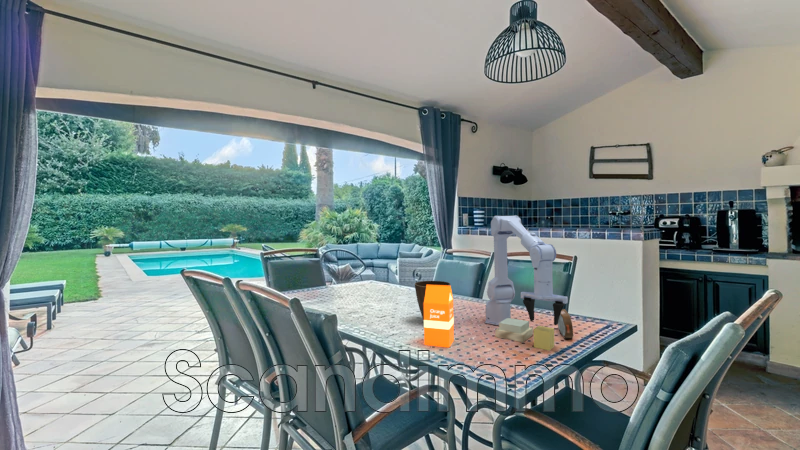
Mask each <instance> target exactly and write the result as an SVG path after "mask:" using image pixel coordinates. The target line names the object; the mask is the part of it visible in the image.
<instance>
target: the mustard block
mask: <svg viewBox="0 0 800 450" xmlns="http://www.w3.org/2000/svg"><path fill="white" fill-rule="evenodd" d="M554 347H555V328H554V327H547V326H543V325H542V326H541V325H537V326H536V327H534V328H533V348H536V349H540V350H545V351H551V350H552V349H553V348H554Z"/></svg>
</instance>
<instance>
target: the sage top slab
mask: <svg viewBox="0 0 800 450" xmlns="http://www.w3.org/2000/svg"><path fill="white" fill-rule="evenodd" d="M529 327H530V320H522V319H517V318H507V319H505V320H503V321H501V322H499V325H498V328H499V330H504V331H509V332H514V333H520V334H522V333H523V332H524V331H526V330H527V329H529Z"/></svg>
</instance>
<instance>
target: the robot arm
mask: <svg viewBox="0 0 800 450" xmlns="http://www.w3.org/2000/svg"><path fill="white" fill-rule="evenodd" d="M523 225H524V224H522V219H521V218H520V217H519V215H516V214H515V215H494V216H493V217H492V220H491V221H490V233H491V237H493V255H494V257H493V258H494V259H493V261H494V263H493V265H494V266H493V267H494V277H493V278H492V279H490V281H488V283H487V291H486V293H487V294H486V295H487V298H488V300H487V301H486V303H485V321H484V323H485V324H489V325H494V326H499V322H501V321H503V320H505V319H507V318H511V317H512V316H511V312H512V311H511V310H512V309H511V303H512V302H513V300H514V299H515V296H516V290H515V285H514V281H512V280H511V279H510V278H509V276H508V275H509V271H508V266H509V265H508V238H509V237H511V236H512V235H516V237H518V238H519V239H520V244H521V245H522V247H523V248H524V249H525V250H527V252H528V253H529V258H530V260H531V265H532V267H533V292H532V291H521V292H520V299H523V300H522V303H523V305H524V307H525V309H526V311H527V313H528V317H529V322H533V321H534V320H535V302H536V300H538V301H546V302H553V303H552V308H553V325H554V326H558V321H559V316H560V313H561V311H562V309H564V307H565V305H566V304H568V303H569V298H568V297H569V296H566V295H565V296H564V295H559V294H554V290H553V284H554V280H553V277H554V276H553V275H554V274H553V262H555V260H556V258H557V250H556V248H555V246H554V244H551V243H545V241H544V240H542V239H541V238H540V237H539V236H538V235H537V233H535V232H533V231H532V232H529V231H528V230H527V229H526V228H525V227H524V226H523Z"/></svg>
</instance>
